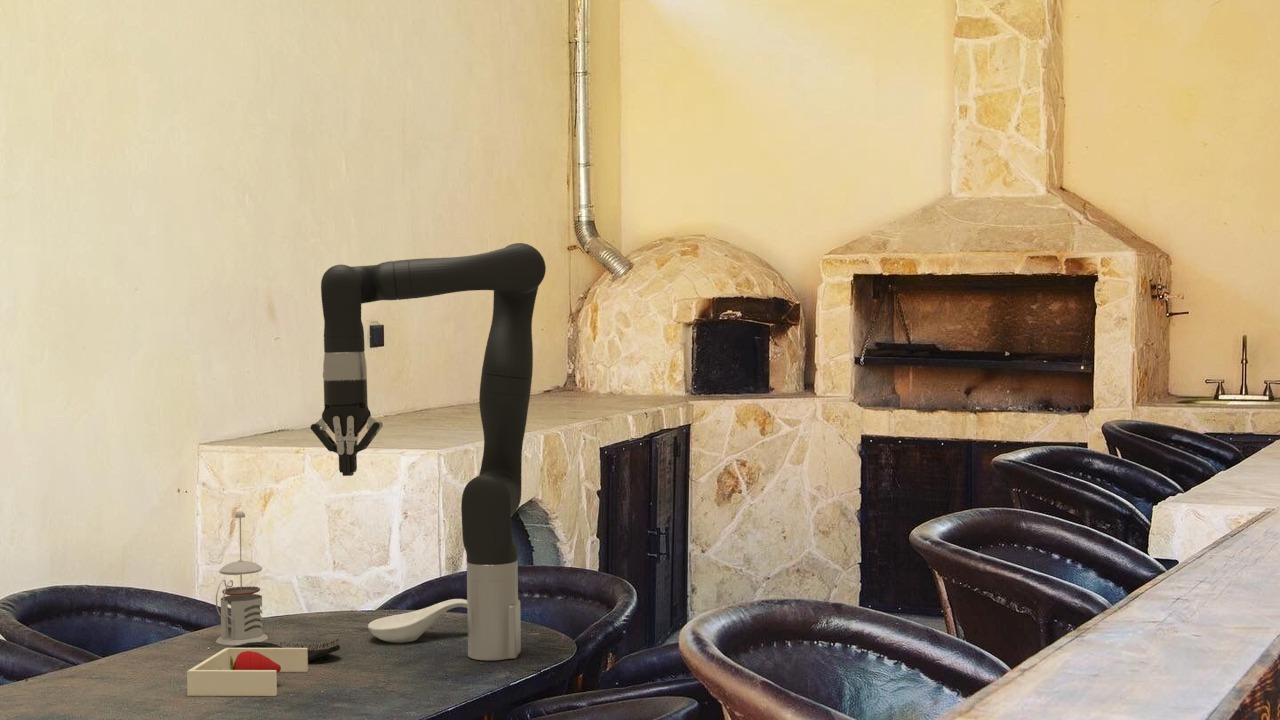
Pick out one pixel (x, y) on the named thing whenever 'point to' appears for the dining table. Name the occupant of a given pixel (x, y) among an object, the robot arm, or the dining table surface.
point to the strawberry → (253, 662)
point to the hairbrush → (311, 653)
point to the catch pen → (243, 673)
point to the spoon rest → (411, 622)
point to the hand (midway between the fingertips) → (348, 475)
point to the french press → (240, 605)
